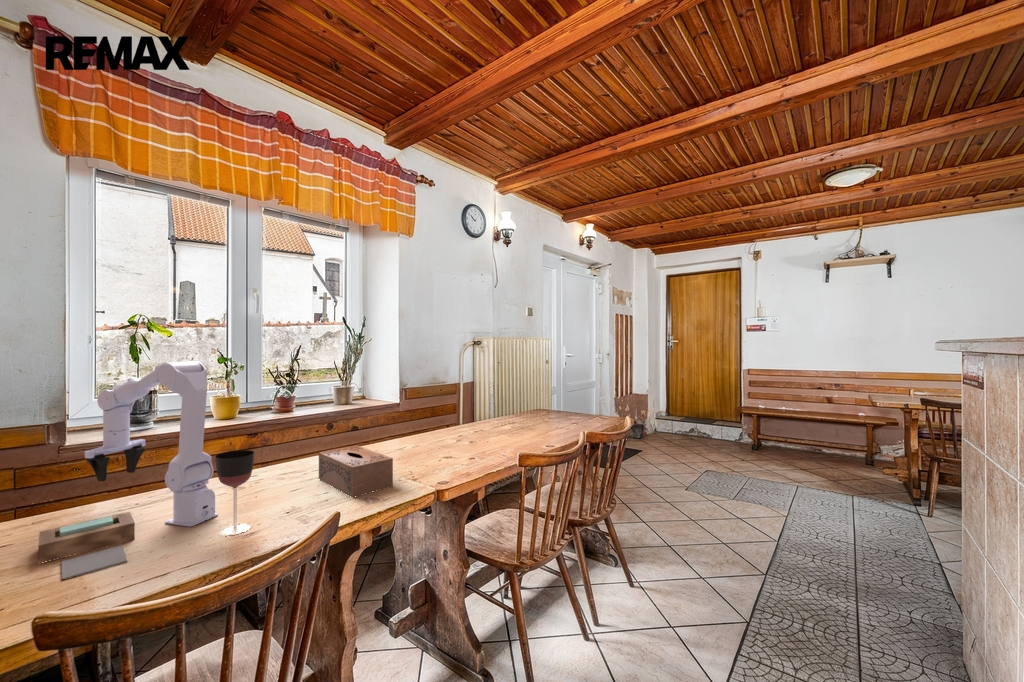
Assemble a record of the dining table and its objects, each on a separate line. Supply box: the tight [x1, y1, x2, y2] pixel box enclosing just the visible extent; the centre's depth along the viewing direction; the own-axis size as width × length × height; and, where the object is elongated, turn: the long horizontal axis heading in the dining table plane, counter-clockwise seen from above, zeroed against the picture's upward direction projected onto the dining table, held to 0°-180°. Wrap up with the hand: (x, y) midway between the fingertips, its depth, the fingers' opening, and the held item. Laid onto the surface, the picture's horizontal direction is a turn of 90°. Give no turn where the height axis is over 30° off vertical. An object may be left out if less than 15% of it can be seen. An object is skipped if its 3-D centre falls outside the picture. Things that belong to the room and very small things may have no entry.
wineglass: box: [215, 449, 255, 535], centre depth 111 cm, size 8×9×20 cm
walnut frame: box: [37, 511, 136, 565], centre depth 103 cm, size 16×10×4 cm, turn 137°
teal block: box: [60, 515, 113, 537], centre depth 102 cm, size 9×4×2 cm, turn 137°
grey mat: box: [61, 545, 128, 580], centre depth 94 cm, size 10×10×1 cm
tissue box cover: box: [318, 445, 394, 498], centre depth 147 cm, size 26×14×10 cm, turn 47°
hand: (116, 476), depth 123 cm, fingers open, 7 cm apart
